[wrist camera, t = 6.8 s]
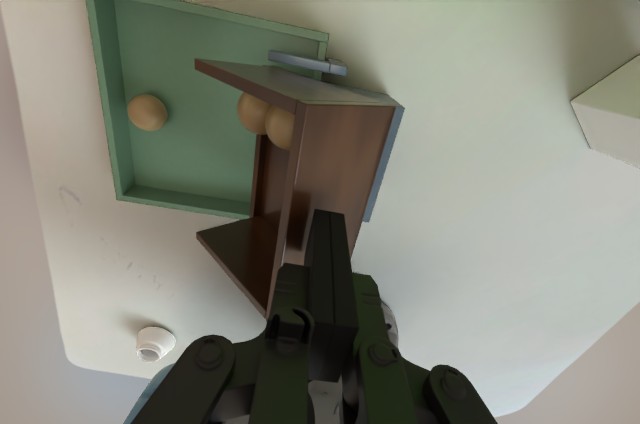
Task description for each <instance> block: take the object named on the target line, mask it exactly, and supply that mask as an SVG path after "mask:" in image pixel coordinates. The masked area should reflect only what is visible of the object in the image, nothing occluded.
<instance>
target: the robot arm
mask: <svg viewBox="0 0 640 424" xmlns="http://www.w3.org/2000/svg"><path fill="white" fill-rule="evenodd" d="M379 297H380V295H379V291H378V286H377V284H376V283H375V281H374V280H373V279H372V277H371V276H370V275H364V274H358V273H352V269H351V261H350V254H349V246H348V239H347V231H346V223H345V216H344V214H342V213H337V212H331V211H325V210H320V209H315V210H314V214H313V219H312V223H311V228H310V232H309V237H308V241H307V246H306V250H305V256H304V266H303V265H297V264H290V263H284V264H283V265H282V266H281V267H280V268H279V270H278V272H277V277H276V282H275V288H274V293H273V298H272V303H271V309H270V314H269V317H268V319H267V325H266V328H265V330H264V331H263V333H261V334H260V335H259V336H258V337H256V338H254V339H252V340H249V341H245V342H240V343H234V344H232V343H231V341H230V340H228V339H226V338H225V337H223V336H218V335H208V336H203V337H201V338H199V339H197V340H195V341H194V342H192V343H191V344H190V345H189V346H188V347H187V348H186V350H185V351H184V352H183V354H182V355H181V356H180V358H179V359H178V360H177V362H176V363H174V364H171V365H169V366H166V367H165V368H163V369H162V370H160V371H159V372H158V373H157V374H156V375H155V376H154V378H153V379H152V380H151V382H150V383H149V384H148V386H147V387H146V389H145V390H144V392H143V393H142V394H141V396H140V397H139V399H138V401H137V402H136V404H135V406H134V407H133V409H132V410H131V412H130V414H129V415H128V417H127V419H126V420H125V422H124V423H123V424H497V422H496V421H495V419H494V417H493V416H492V414H491V413H490V411H489V410H488V408H487V407H486V405H485V404H484V402H483V400H482V399H481V397H480V396H479V394H478V393H477V391H476V390H475V388H474V387H473V385H472V384H471V382H470V381H469V380H468V379H467V378H466V376H465V375H463V374H462V373H461V372H460V371H458V370H457V369H455V368H453V367H450V366H448V365H437V366H435V367H433V368H432V370H431V371H429V370H426V369H424V368H422V367H419V366H417V365H415V364H413V363H411V362H409V361H407V360H405V359H404V358H403V357H402V356H401V354H400V352H399V350H398V329H397V325H396V321H395V318H394V315H393V314H392V312H391V310H390V309H389V308H388V307H387V306H386V305H385V304H384V303H383V302H382V301H381V299H380V298H379Z"/></svg>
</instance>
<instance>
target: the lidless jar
mask: <svg viewBox="0 0 640 424" xmlns="http://www.w3.org/2000/svg"><path fill="white" fill-rule="evenodd" d="M175 343H176V341H175V337H174V336H173V335H172V334H171V333H170V332H168V331H167V330H165V329H162V328H159V327H147V328H143V329H142V330H141V331H140V332H139V333H138V336H137V356H138V357H139V358H140V359H141V360H143V361H145V362H157V361H158V360H159V359H160V358H162V357H163V356H165V355H166V354H167V353H168V352H169V351H171V350H172V349H173V348H174V345H175Z"/></svg>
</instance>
